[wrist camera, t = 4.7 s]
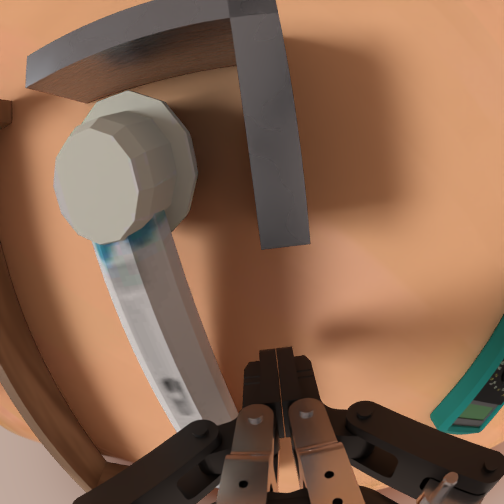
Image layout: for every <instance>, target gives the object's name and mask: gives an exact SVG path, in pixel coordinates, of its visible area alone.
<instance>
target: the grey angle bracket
mask: <svg viewBox="0 0 504 504" xmlns="http://www.w3.org/2000/svg"><path fill="white" fill-rule="evenodd" d="M234 65H237V70H238V77H239V85H240V92H241V99H242V106H243V113H244V121H245V128H246V135H247V143H248V150H249V158H250V165H251V173H252V180H253V188H254V196H255V203H256V211H257V219H258V227H259V235H260V242H261V250H264V249H272V248H281V247H289V246H297V245H306V244H310V234H309V222H308V211H307V201H306V191H305V182H304V173H303V164H302V156H301V148H300V140H299V133H298V125H297V118H296V111H295V105H294V98H293V92H292V85H291V79H290V73H289V67H288V62H287V56H286V50H285V45H284V40H283V35H282V29H281V24H280V20H279V15H278V10H277V5H276V1H275V0H153V1H150V2H147V3H143V4H140V5H137V6H134V7H131V8H128V9H125V10H123V11H120V12H117V13H114V14H112V15H109V16H107V17H104V18H102V19H99V20H97V21H94V22H92V23H90V24H88V25H85V26H83V27H81V28H79V29H77V30H75V31H72V32H70V33H68V34H66V35H64V36H62V37H61V38H59V39H57V40H55V41H53V42H51V43H49V44H47V45H46V46H44V47H42V48H40V49H39V50H37V51H35V52H34V53H32V54H30V55H29V56H27V67H26V88H28V89H32V90H37V91H41V92H45V93H49V94H53V95H57V96H61V97H65V98H68V99H72V100H76V101H79V102H83V103H89V102H91V101H94V100H97V99H100V98H102V97H105V96H108V95H111V94H114V93H117V92H120V91H123V90H127V89H130V88H133V87H136V86H140V85H143V84H147V83H151V82H155V81H158V80H162V79H166V78H171V77H175V76H179V75H184V74H188V73H193V72H198V71H204V70H209V69H215V68H221V67H228V66H234Z"/></svg>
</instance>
